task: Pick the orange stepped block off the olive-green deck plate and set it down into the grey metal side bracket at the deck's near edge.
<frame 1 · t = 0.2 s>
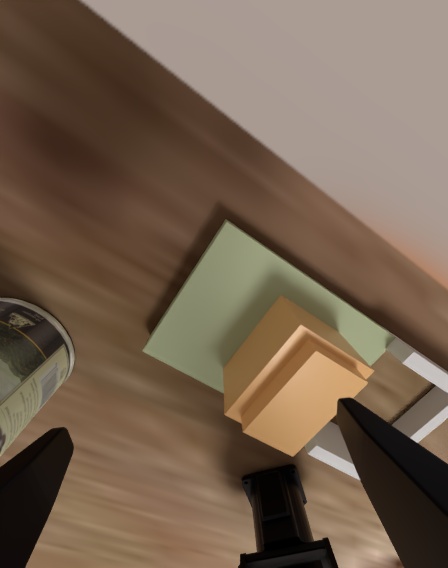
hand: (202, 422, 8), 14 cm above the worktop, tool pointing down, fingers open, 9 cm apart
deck: (373, 395, 25), on the worktop
coffee can: (20, 347, 23), on the worktop
orange stepped block: (279, 350, 21), point 2 cm above the worktop, touching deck
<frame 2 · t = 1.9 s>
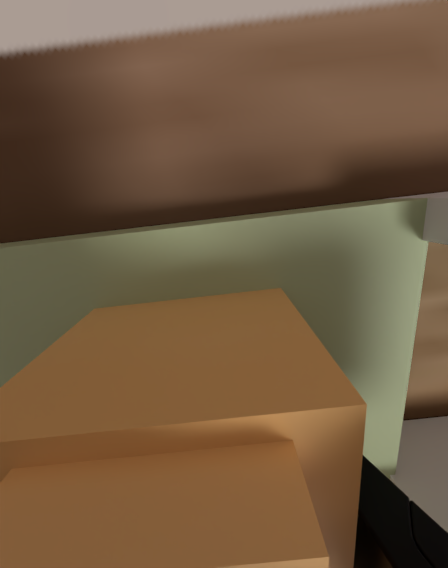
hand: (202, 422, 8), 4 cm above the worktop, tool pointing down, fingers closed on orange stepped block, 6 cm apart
orange stepped block: (204, 398, 9), point 2 cm above the worktop, touching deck, gripper
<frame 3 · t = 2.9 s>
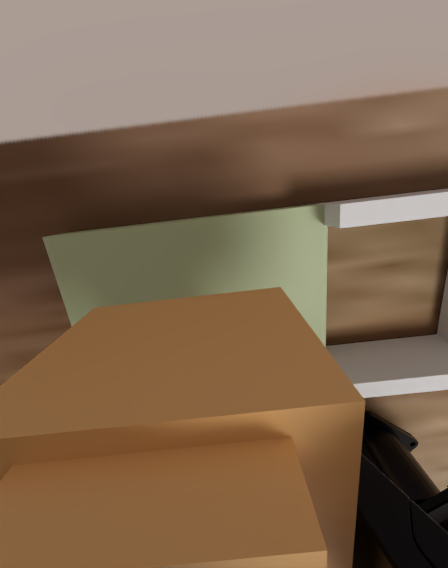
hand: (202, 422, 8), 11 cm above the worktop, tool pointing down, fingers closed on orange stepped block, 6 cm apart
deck: (386, 281, 19), on the worktop
orange stepped block: (204, 397, 9), point 10 cm above the worktop, touching gripper
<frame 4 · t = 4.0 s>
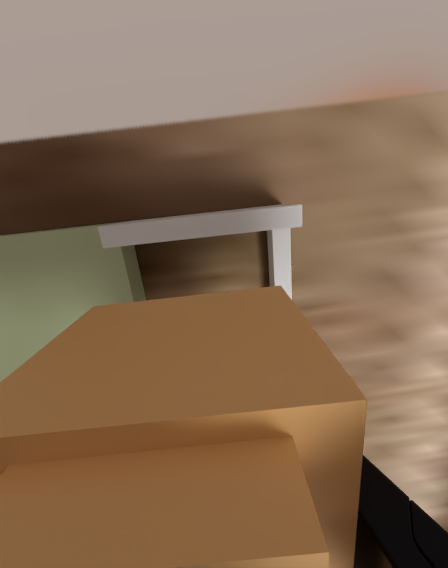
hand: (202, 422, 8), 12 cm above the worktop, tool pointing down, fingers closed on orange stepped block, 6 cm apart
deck: (213, 292, 20), on the worktop
orange stepped block: (203, 397, 9), point 11 cm above the worktop, touching gripper
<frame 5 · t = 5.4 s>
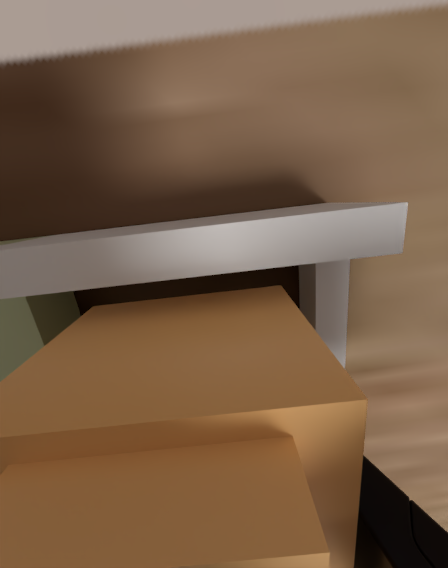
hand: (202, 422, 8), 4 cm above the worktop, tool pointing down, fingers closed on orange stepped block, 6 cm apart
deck: (207, 350, 12), on the worktop
orange stepped block: (203, 397, 9), point 3 cm above the worktop, touching gripper
when the fingers open (3 cm above the worktop, at t = 6.2 s): orange stepped block drops 2 cm, resting in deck.
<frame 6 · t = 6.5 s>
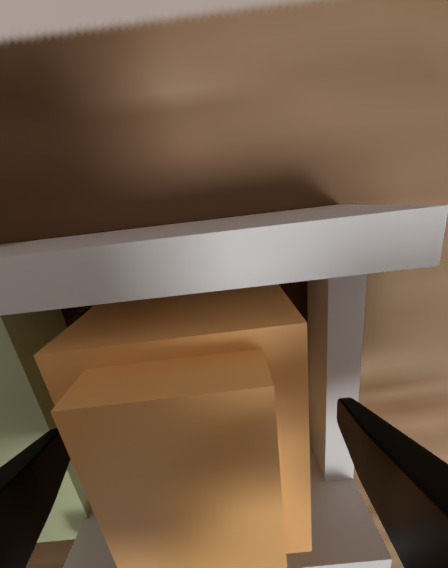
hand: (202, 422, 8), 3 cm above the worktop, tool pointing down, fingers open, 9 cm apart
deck: (206, 365, 11), on the worktop
orange stepped block: (206, 361, 11), resting in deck
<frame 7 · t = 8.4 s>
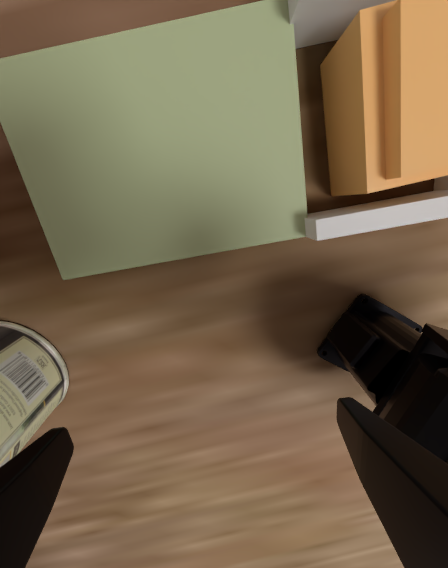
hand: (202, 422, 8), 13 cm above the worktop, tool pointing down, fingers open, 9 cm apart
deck: (371, 125, 17), on the worktop
coffee can: (13, 370, 22), on the worktop
orange stepped block: (369, 125, 17), resting in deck
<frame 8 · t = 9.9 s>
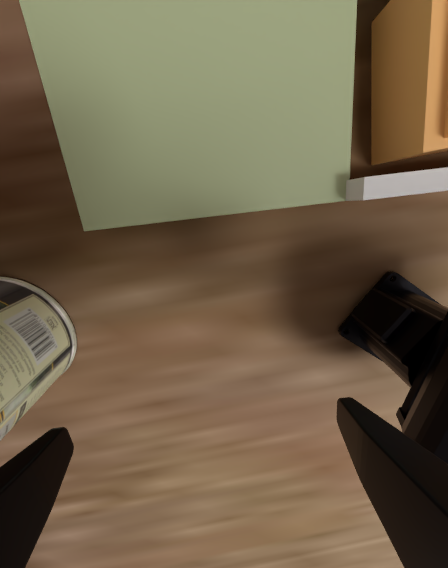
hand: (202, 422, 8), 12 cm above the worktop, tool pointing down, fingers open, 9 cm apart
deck: (418, 90, 16), on the worktop
coffee can: (17, 333, 21), on the worktop
orange stepped block: (416, 90, 16), resting in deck
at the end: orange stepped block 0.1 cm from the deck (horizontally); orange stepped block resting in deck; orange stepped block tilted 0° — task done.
